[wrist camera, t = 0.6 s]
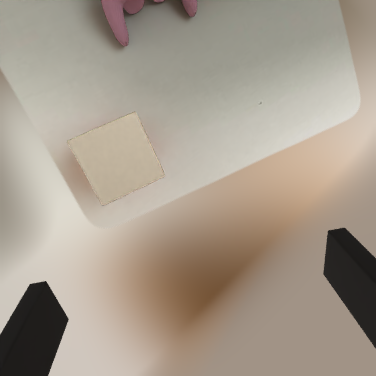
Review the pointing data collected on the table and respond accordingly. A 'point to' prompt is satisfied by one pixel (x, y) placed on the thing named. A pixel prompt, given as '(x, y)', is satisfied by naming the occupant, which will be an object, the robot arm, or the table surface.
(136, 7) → the video game controller
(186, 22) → the table surface
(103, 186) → the cream and orange block
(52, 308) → the robot arm
